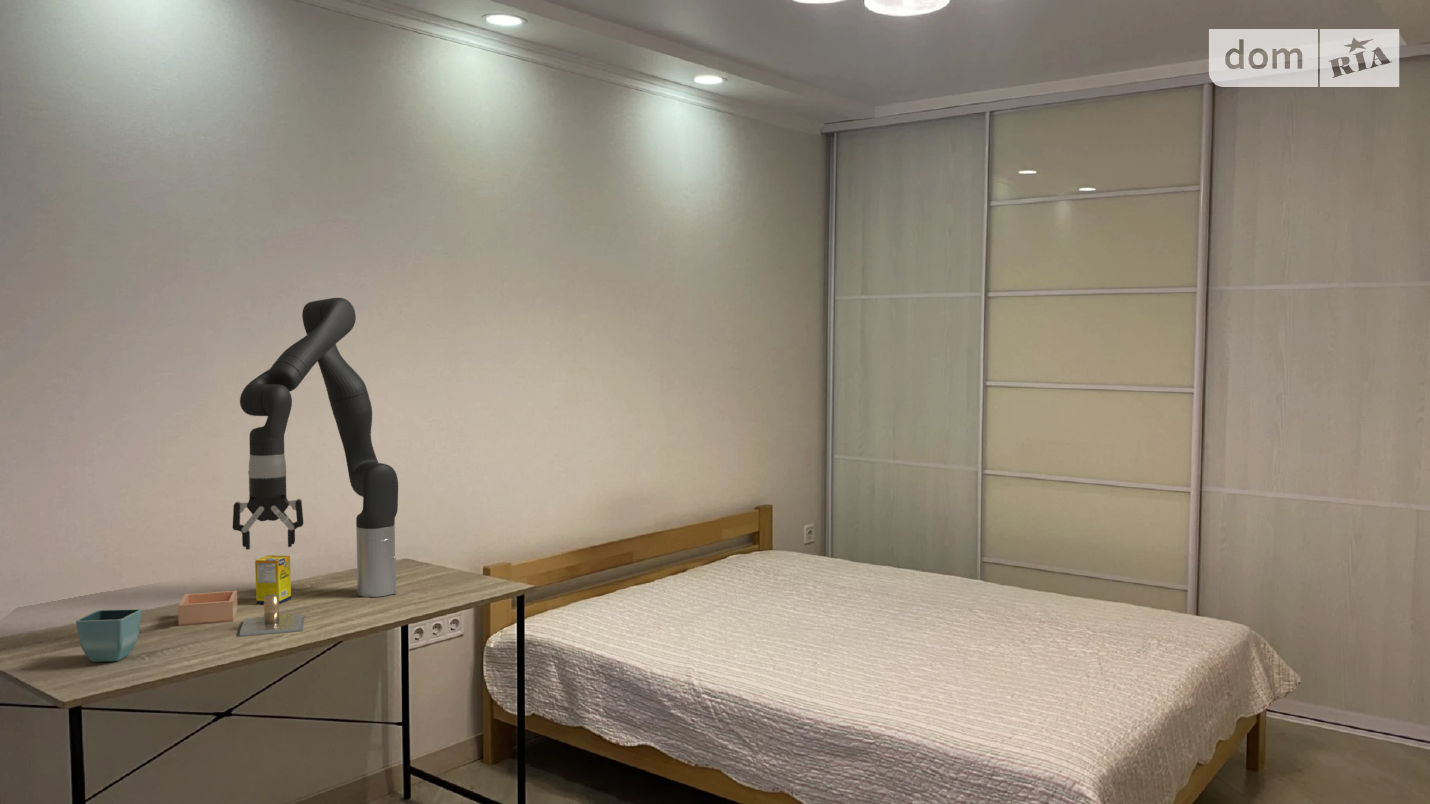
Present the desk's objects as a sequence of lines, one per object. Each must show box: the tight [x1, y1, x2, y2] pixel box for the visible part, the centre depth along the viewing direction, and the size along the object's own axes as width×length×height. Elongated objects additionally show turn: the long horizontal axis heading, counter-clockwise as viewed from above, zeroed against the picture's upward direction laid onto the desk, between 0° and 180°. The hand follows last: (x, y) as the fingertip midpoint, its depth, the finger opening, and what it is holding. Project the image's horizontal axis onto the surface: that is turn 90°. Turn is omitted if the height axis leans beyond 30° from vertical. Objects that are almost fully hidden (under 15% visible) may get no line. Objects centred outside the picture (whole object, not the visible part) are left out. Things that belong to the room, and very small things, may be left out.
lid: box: [239, 594, 303, 637], centre depth 228 cm, size 12×12×7 cm
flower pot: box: [75, 608, 143, 663], centre depth 206 cm, size 9×9×9 cm
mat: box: [237, 616, 305, 638], centre depth 228 cm, size 13×13×1 cm
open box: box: [177, 590, 239, 627], centre depth 236 cm, size 11×11×5 cm
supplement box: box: [254, 554, 292, 605], centre depth 252 cm, size 6×6×11 cm
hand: (269, 547), depth 227 cm, fingers open, 8 cm apart
